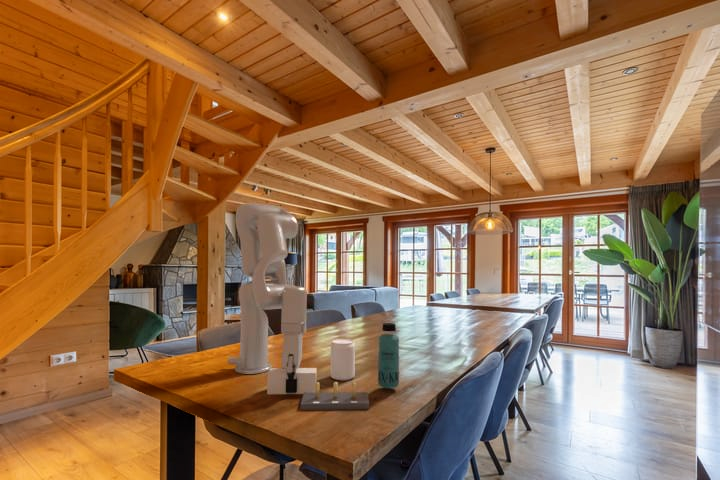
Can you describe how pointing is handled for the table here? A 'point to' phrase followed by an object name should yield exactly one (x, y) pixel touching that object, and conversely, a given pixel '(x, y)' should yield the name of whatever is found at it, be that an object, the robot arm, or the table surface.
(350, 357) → the beverage can
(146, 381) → the table surface
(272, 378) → the white rectangular block
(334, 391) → the header
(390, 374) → the beverage bottle
